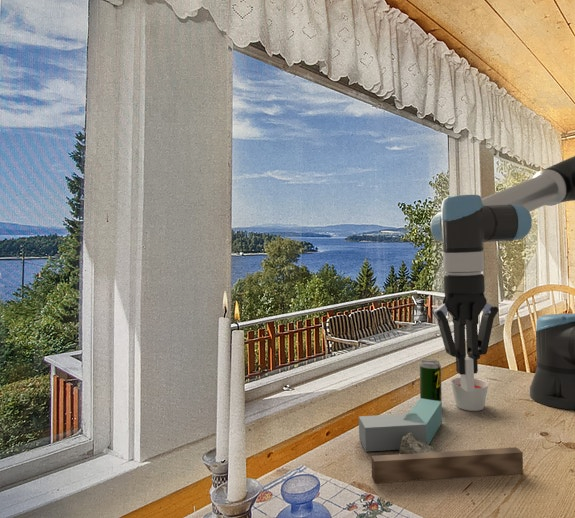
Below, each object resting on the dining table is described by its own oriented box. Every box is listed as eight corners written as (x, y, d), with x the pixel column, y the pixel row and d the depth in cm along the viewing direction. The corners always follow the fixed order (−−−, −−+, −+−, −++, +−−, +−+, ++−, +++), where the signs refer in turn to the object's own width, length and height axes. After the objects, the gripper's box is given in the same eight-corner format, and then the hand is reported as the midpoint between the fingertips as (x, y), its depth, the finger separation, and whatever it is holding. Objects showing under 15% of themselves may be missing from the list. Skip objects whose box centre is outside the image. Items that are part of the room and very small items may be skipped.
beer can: (418, 408, 112) (417, 363, 112) (422, 401, 117) (421, 358, 116) (440, 412, 109) (439, 365, 109) (443, 404, 114) (442, 360, 114)
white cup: (489, 403, 115) (489, 379, 114) (487, 415, 107) (487, 390, 106) (453, 398, 119) (453, 375, 119) (449, 409, 111) (448, 385, 111)
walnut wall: (516, 467, 82) (516, 447, 82) (523, 473, 80) (522, 452, 80) (371, 477, 80) (371, 456, 80) (374, 482, 78) (374, 461, 78)
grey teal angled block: (437, 417, 106) (436, 397, 105) (465, 445, 91) (465, 422, 91) (351, 422, 104) (350, 401, 104) (365, 451, 89) (365, 427, 89)
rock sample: (451, 460, 78) (417, 418, 83) (418, 486, 78) (387, 443, 83) (455, 460, 86) (425, 422, 91) (426, 483, 87) (397, 445, 92)
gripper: (485, 270, 90) (489, 381, 91) (424, 273, 89) (428, 385, 90) (505, 272, 82) (509, 393, 83) (439, 276, 82) (444, 398, 83)
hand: (467, 389), depth 87 cm, fingers closed
